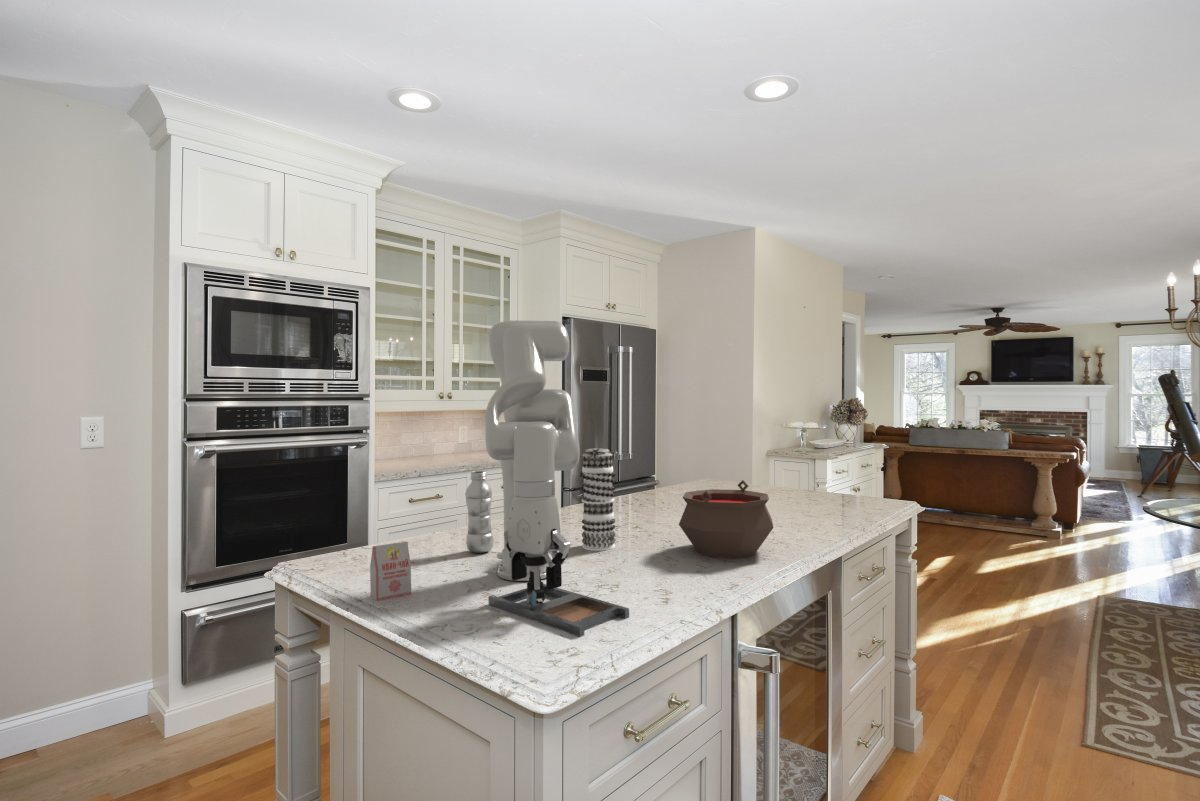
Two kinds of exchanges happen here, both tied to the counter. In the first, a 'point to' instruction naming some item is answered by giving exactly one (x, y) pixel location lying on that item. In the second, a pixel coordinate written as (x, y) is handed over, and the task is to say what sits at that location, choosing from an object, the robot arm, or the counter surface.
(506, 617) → the counter surface
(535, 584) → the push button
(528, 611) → the rail
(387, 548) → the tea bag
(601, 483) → the decorative candle
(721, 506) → the brown cauldron
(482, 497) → the plastic bottle
